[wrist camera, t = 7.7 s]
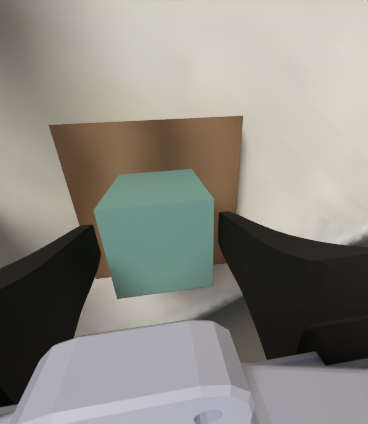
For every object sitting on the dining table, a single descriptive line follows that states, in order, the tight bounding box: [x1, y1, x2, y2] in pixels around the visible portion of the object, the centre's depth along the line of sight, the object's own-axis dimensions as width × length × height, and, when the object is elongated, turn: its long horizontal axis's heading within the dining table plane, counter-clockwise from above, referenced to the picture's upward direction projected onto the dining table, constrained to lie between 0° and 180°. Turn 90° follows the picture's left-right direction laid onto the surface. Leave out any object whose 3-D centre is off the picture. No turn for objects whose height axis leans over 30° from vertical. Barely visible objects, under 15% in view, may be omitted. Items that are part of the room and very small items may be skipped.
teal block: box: [94, 169, 214, 299], centre depth 12 cm, size 5×5×6 cm
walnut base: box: [49, 116, 243, 279], centre depth 16 cm, size 12×12×2 cm
